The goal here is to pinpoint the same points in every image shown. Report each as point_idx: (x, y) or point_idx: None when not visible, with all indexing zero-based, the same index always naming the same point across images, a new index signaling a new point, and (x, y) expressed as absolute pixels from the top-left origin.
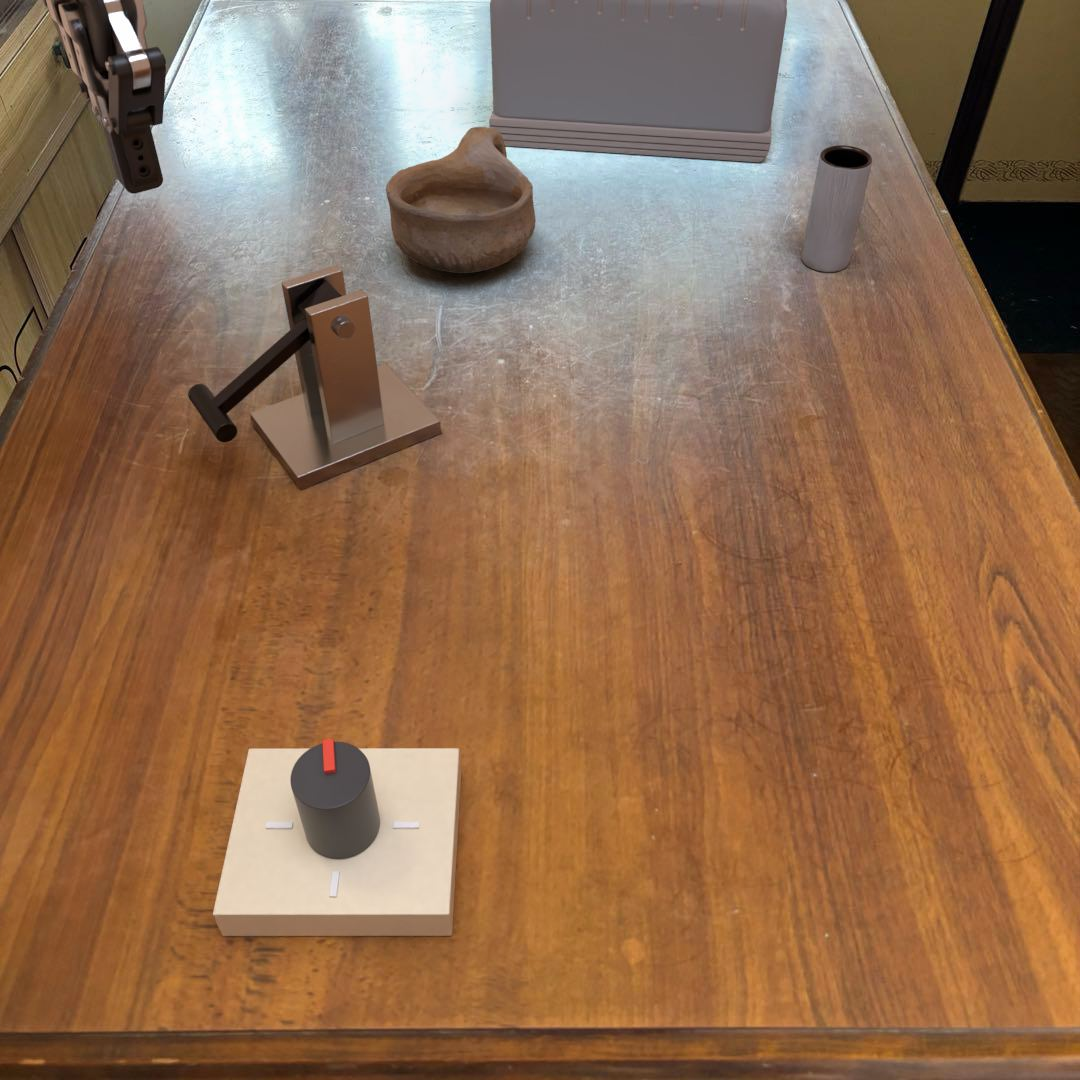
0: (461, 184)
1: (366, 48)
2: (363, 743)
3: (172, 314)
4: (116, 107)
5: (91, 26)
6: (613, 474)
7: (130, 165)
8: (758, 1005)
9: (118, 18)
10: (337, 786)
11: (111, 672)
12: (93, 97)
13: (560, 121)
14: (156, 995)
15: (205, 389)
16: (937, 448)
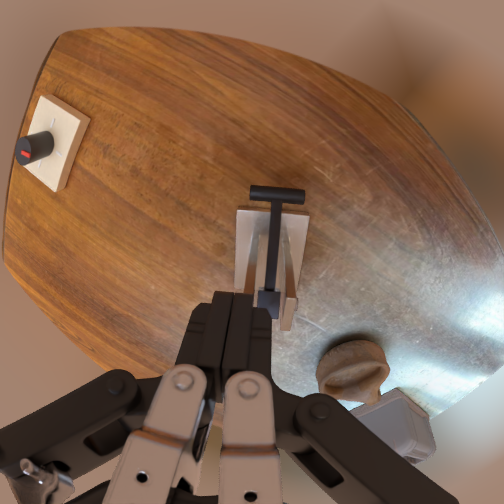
0: (368, 379)
1: (476, 372)
2: (85, 161)
3: (426, 228)
4: (57, 408)
5: None
6: (170, 316)
7: (187, 329)
8: (8, 218)
9: None
10: (19, 152)
11: (170, 73)
12: (238, 415)
13: (374, 410)
14: (48, 72)
15: (296, 202)
16: (140, 376)
